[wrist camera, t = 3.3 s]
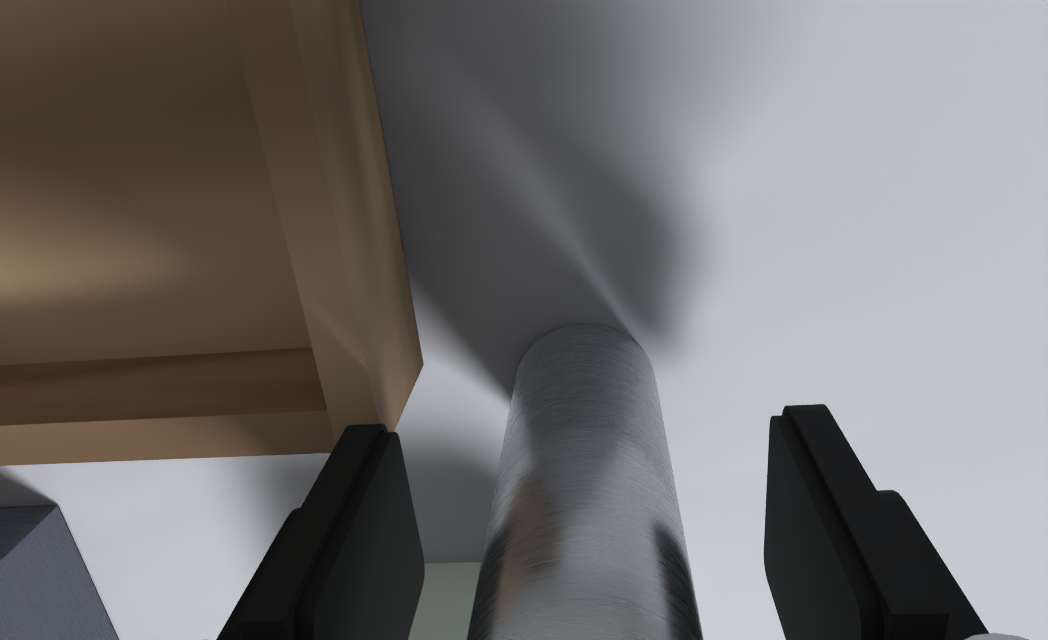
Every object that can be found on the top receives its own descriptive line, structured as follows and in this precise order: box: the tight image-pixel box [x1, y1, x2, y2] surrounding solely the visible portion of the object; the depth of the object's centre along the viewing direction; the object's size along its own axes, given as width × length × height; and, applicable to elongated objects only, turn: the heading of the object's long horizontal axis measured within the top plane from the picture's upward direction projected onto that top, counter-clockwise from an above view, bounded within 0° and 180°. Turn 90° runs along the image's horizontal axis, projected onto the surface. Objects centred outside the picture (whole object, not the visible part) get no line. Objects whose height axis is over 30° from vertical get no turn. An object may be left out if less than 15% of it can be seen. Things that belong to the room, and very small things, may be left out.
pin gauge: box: [467, 324, 703, 640], centre depth 10 cm, size 3×3×10 cm
